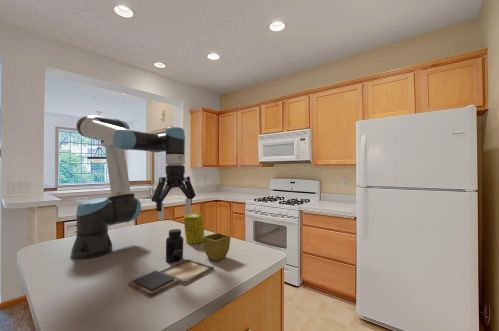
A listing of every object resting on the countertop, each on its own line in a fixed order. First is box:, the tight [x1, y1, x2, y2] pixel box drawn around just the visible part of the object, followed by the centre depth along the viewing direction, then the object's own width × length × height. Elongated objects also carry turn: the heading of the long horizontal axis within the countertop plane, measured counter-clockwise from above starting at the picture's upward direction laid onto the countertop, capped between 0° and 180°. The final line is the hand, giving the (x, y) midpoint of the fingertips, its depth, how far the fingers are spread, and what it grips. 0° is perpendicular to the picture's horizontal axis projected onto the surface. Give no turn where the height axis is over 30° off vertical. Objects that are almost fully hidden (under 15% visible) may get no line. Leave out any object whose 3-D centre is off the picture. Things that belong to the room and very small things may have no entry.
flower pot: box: [202, 232, 231, 261], centre depth 97 cm, size 9×9×9 cm
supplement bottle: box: [165, 228, 184, 263], centre depth 95 cm, size 7×7×12 cm
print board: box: [158, 258, 215, 286], centre depth 84 cm, size 14×14×1 cm
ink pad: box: [132, 270, 174, 291], centre depth 75 cm, size 10×8×1 cm
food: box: [183, 212, 205, 245], centre depth 119 cm, size 15×12×10 cm
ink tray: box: [127, 270, 179, 298], centre depth 75 cm, size 12×10×1 cm
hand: (175, 216), depth 95 cm, fingers open, 13 cm apart
